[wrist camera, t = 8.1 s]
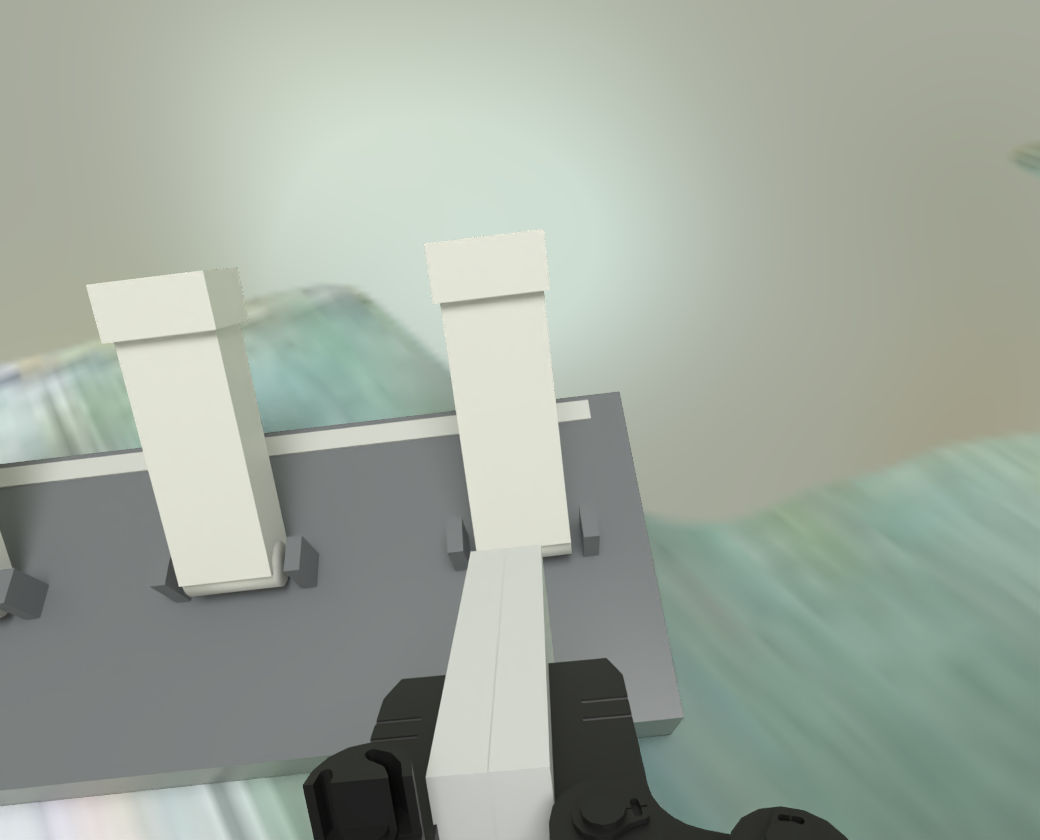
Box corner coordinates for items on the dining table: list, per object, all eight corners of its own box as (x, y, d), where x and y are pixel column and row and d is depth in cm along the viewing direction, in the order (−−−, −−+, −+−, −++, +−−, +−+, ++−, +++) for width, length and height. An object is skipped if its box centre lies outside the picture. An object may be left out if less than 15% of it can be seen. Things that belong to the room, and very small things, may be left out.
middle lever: (278, 602, 26) (203, 270, 23) (174, 613, 26) (85, 284, 23) (301, 566, 29) (237, 267, 26) (208, 577, 29) (133, 280, 26)
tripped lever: (579, 568, 26) (543, 229, 23) (474, 580, 26) (423, 243, 23) (572, 535, 29) (540, 230, 26) (478, 546, 29) (433, 242, 26)
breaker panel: (670, 734, 28) (691, 707, 23) (-114, 818, 29) (-281, 812, 24) (615, 439, 36) (621, 364, 30) (-10, 512, 36) (-118, 452, 31)
